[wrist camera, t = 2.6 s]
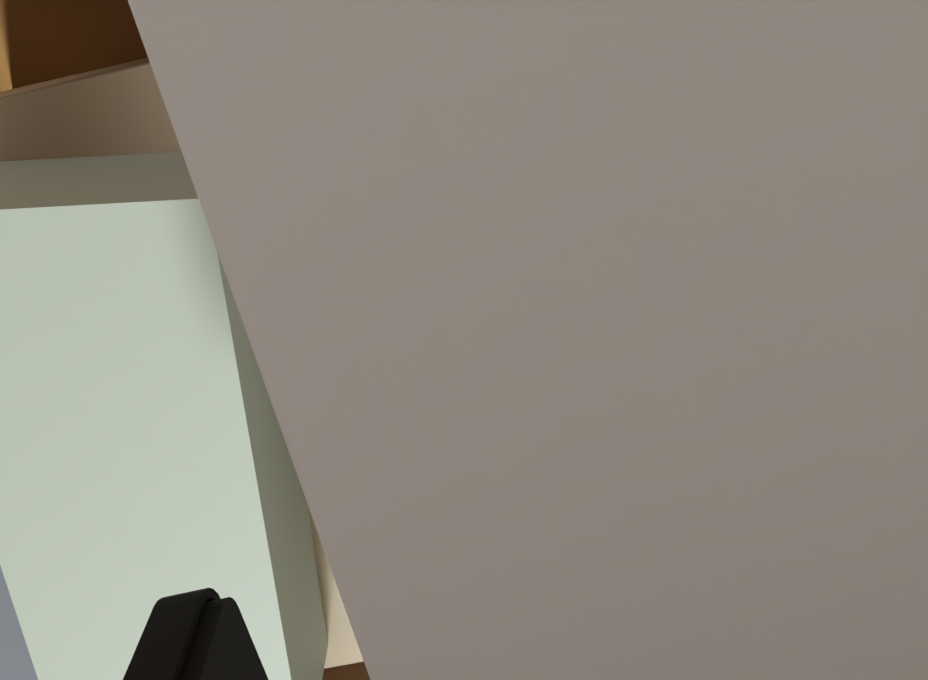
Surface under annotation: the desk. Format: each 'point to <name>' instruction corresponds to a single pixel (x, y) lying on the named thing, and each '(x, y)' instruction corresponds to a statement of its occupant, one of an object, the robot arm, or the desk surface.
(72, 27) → the desk surface
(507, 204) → the off-white rectangular prism
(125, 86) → the offcut lower
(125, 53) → the desk surface
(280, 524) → the offcut upper
